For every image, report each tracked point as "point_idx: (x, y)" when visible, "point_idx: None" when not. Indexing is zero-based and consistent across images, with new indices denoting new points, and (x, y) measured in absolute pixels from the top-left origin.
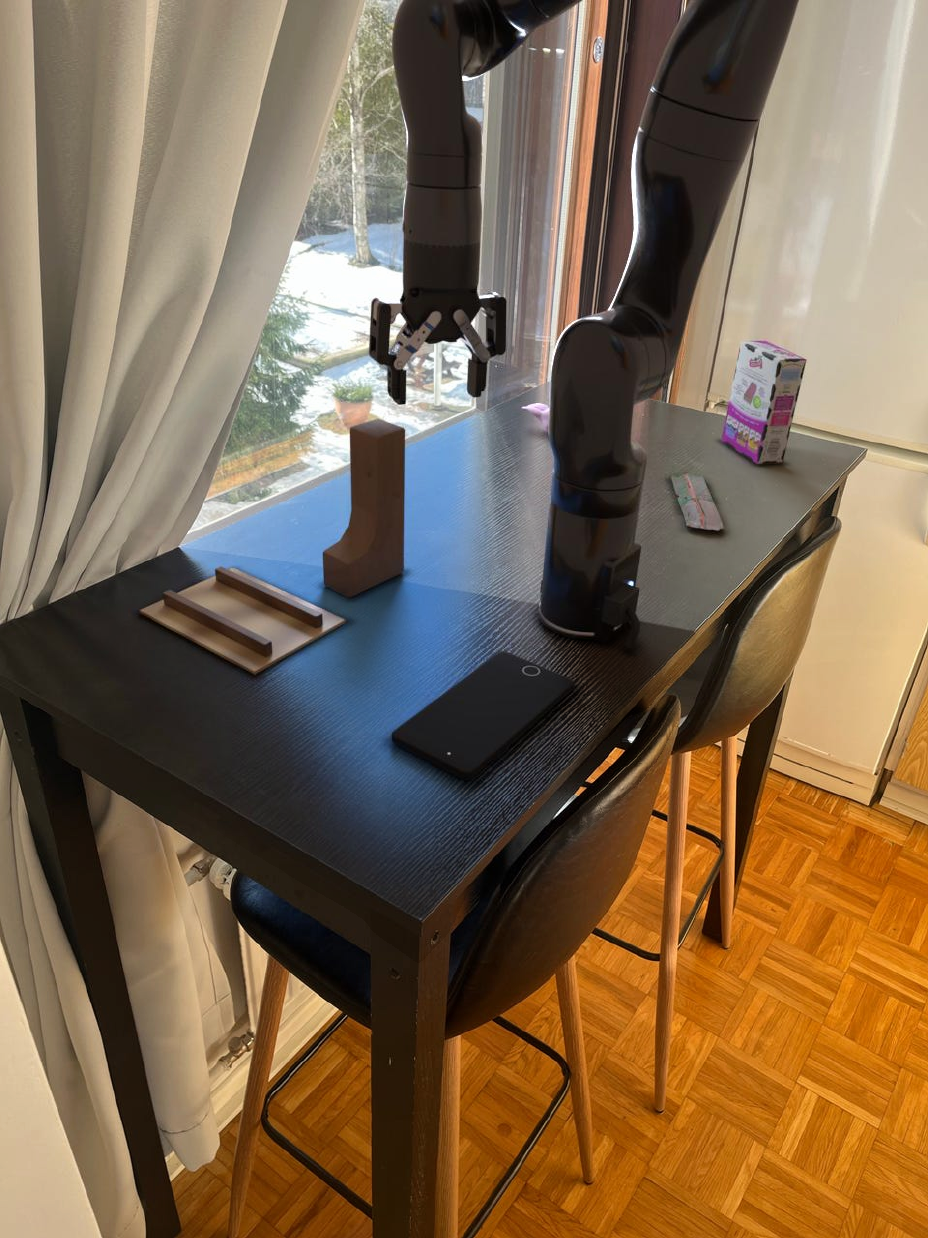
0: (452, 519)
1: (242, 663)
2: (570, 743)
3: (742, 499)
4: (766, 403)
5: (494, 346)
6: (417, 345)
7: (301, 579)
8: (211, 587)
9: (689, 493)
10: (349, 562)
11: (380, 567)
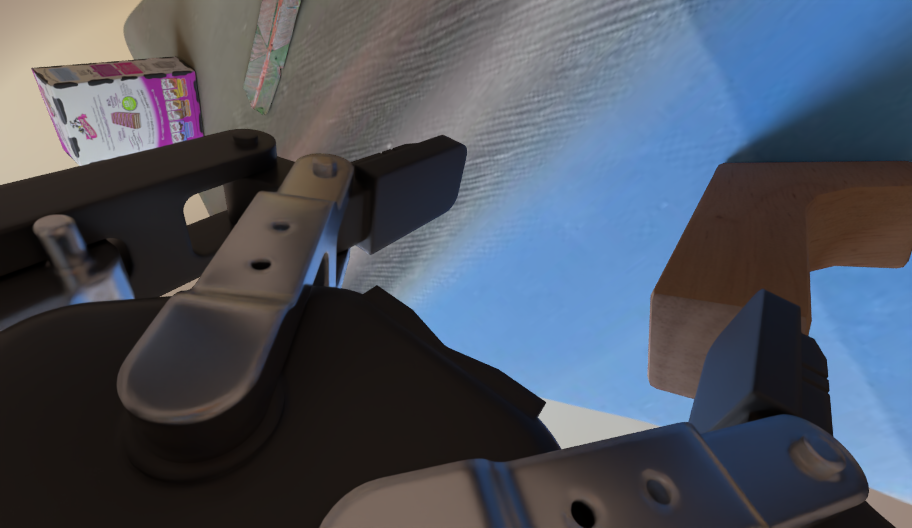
0: (519, 229)
1: None
2: None
3: (232, 12)
4: (120, 86)
5: (253, 167)
6: (679, 458)
7: (895, 282)
8: None
9: (268, 66)
10: None
11: (797, 170)
